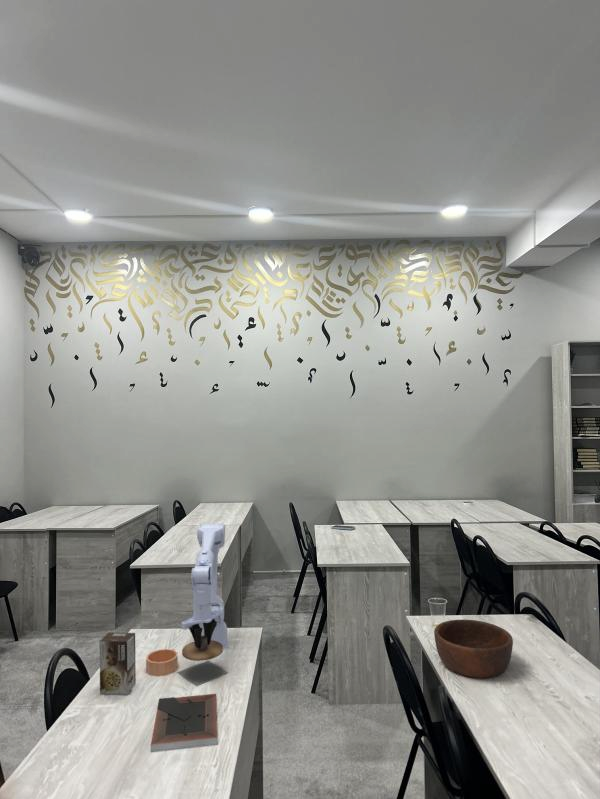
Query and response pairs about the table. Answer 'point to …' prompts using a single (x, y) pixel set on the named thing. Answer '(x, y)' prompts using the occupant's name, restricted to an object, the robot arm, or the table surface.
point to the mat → (202, 673)
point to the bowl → (162, 662)
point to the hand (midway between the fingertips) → (202, 645)
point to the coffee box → (117, 663)
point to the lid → (202, 650)
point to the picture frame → (185, 722)
